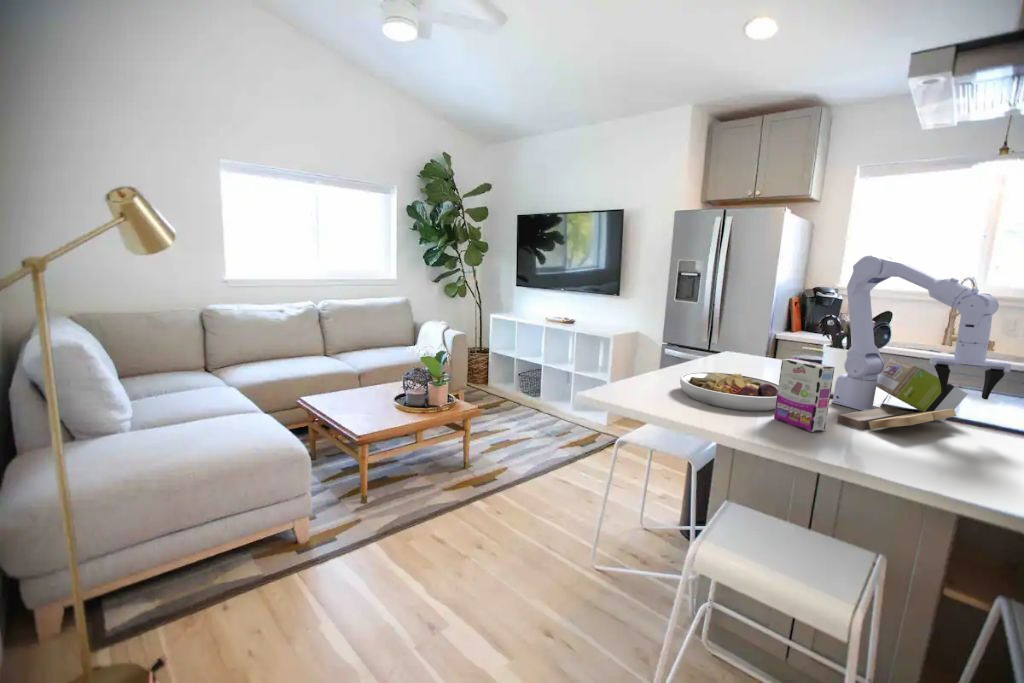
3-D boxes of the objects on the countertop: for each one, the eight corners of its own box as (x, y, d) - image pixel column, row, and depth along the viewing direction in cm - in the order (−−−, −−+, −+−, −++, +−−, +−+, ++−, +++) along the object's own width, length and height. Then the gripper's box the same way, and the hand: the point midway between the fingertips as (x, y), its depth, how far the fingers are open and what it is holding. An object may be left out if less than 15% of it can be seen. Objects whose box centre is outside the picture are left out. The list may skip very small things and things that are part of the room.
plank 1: (870, 429, 121) (868, 421, 122) (893, 424, 126) (891, 417, 126) (911, 425, 113) (908, 417, 114) (934, 420, 118) (931, 412, 118)
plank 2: (894, 424, 126) (892, 417, 126) (916, 420, 131) (913, 413, 131) (935, 420, 118) (932, 412, 118) (956, 415, 123) (953, 408, 123)
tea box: (916, 409, 144) (868, 382, 147) (940, 382, 141) (891, 355, 144) (943, 423, 129) (888, 393, 133) (970, 393, 127) (914, 363, 130)
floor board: (837, 421, 127) (838, 413, 127) (887, 413, 138) (888, 405, 137) (861, 429, 122) (863, 420, 121) (912, 419, 132) (913, 411, 132)
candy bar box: (826, 431, 119) (836, 366, 116) (811, 433, 117) (821, 367, 114) (786, 417, 129) (795, 357, 127) (772, 418, 127) (781, 358, 125)
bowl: (658, 389, 153) (660, 365, 152) (725, 383, 166) (728, 361, 165) (737, 419, 126) (740, 390, 125) (810, 409, 139) (814, 382, 138)
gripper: (936, 341, 120) (929, 394, 121) (1018, 347, 112) (1009, 404, 114) (931, 338, 125) (924, 389, 127) (1009, 344, 118) (999, 398, 119)
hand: (963, 396), depth 121 cm, fingers open, 7 cm apart
